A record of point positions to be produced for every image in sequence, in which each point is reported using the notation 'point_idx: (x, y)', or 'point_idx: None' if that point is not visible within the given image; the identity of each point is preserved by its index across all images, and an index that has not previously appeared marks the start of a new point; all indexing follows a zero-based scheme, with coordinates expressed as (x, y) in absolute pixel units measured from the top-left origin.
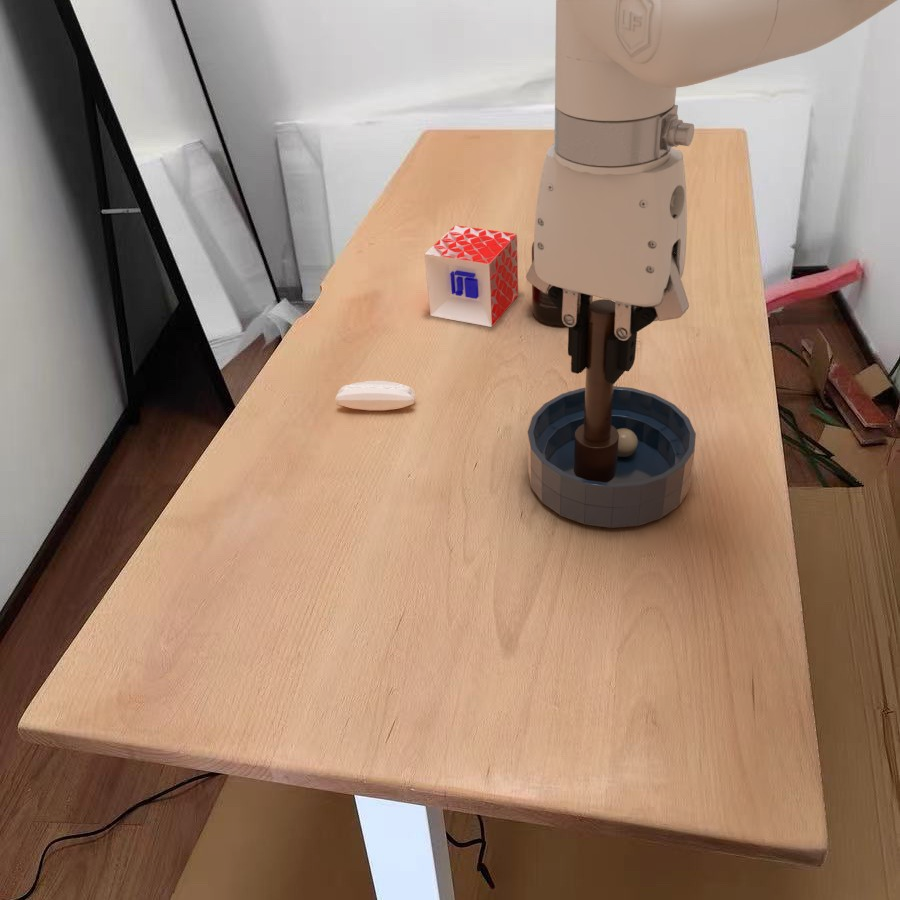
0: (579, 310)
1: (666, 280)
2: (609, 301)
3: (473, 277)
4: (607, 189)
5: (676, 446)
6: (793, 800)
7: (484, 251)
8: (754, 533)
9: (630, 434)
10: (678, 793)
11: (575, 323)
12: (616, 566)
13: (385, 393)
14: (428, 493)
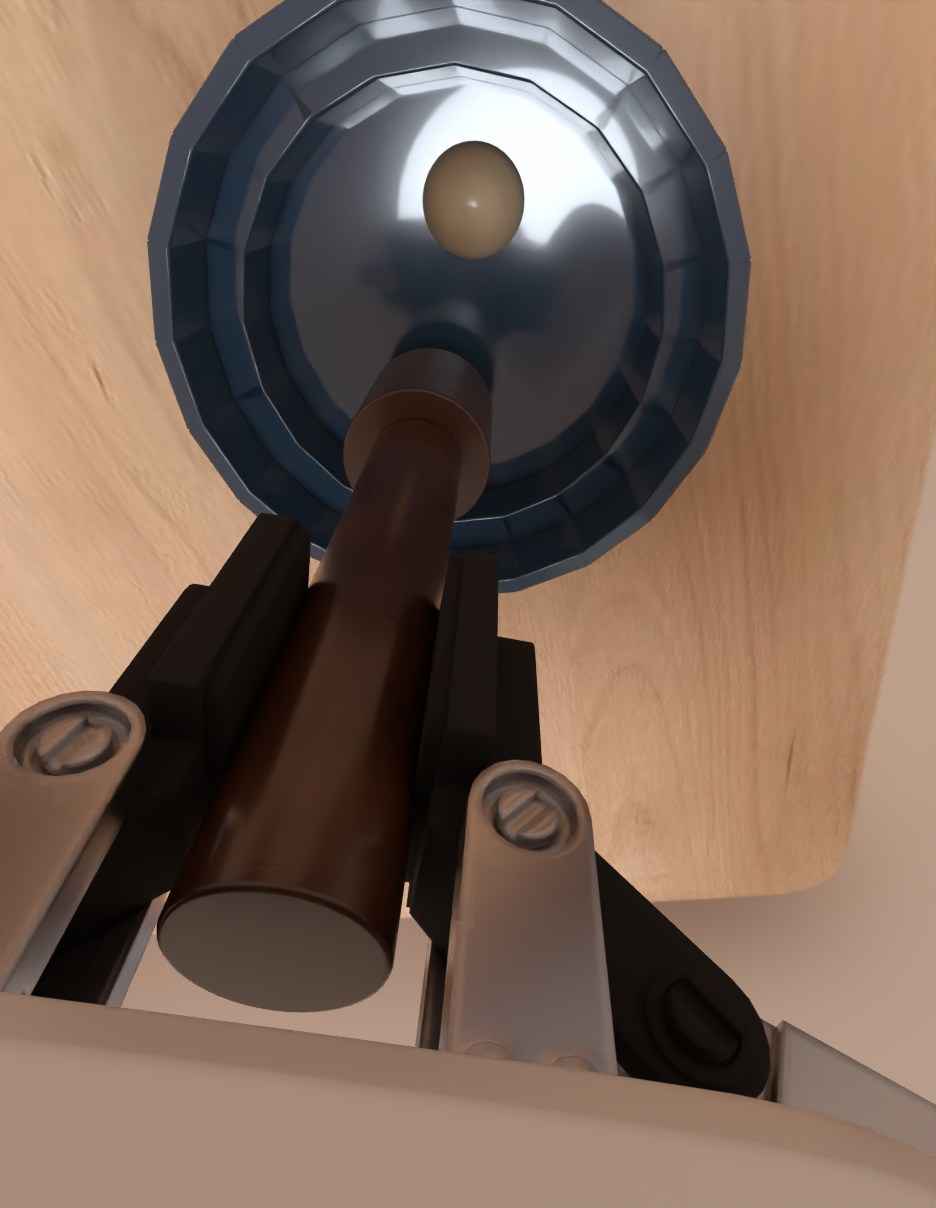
0: (130, 952)
1: None
2: (284, 904)
3: None
4: None
5: (665, 218)
6: (818, 860)
7: None
8: (859, 421)
9: (496, 209)
10: (681, 878)
11: (163, 896)
12: (546, 599)
13: None
14: (72, 513)
